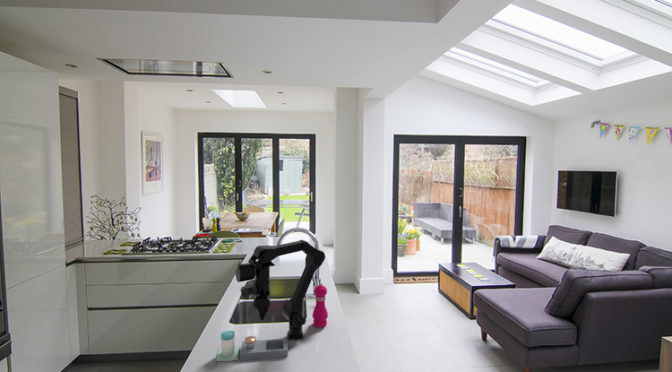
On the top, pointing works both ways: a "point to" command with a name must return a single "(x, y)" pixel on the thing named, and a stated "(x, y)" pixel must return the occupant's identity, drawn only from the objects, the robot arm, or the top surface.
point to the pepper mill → (320, 306)
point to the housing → (264, 349)
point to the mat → (230, 358)
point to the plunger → (250, 342)
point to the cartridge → (227, 343)
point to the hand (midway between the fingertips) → (262, 314)
